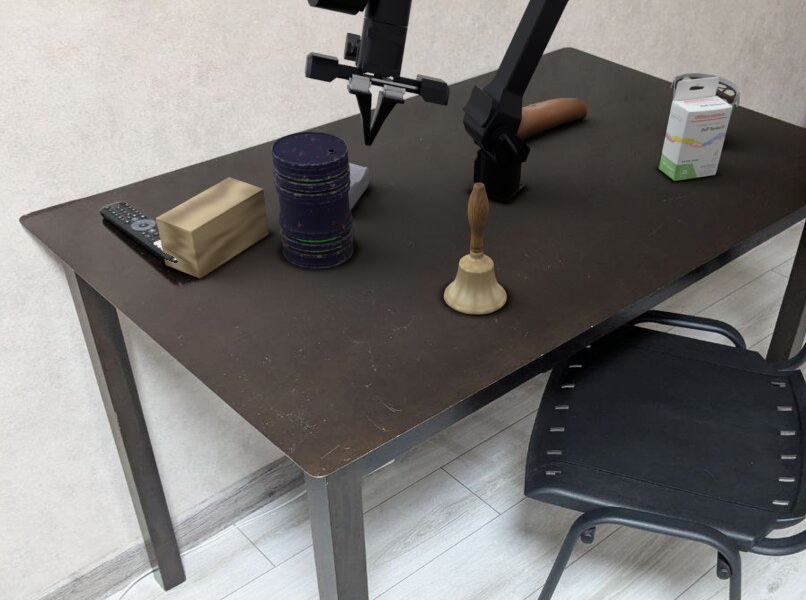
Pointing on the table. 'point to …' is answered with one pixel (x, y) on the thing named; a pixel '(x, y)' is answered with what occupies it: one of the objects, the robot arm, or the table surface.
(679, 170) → the ink box
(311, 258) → the blue barrel
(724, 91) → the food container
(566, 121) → the sunglasses case
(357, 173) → the stone block
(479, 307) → the hand bell
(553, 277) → the table surface
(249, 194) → the birch block
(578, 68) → the table surface
